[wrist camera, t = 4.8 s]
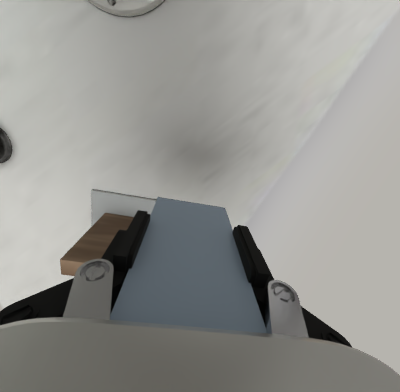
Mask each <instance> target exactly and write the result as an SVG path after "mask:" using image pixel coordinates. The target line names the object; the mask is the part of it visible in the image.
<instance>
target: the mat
mask: <svg viewBox="0 0 400 392" xmlns="http://www.w3.org/2000/svg"><path fill="white" fill-rule="evenodd" d="M156 201H157V200H155V199H148V198H142V197H136V196H130V195H124V194H118V193H112V192H106V191H100V190H94V189H92V190H91V209H92V226H93V225H94V224H95V223H96V222H97V221H98V220H99V219H100V218H101V217H102V215H103V214H104V213H111V214H117V215H124V216H130V217H134V216H135V214H136V213H137V211H138V210H141V211H147V212H148V214H150V215H151V213H152V211H153V208H154V206H155V203H156Z"/></svg>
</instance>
